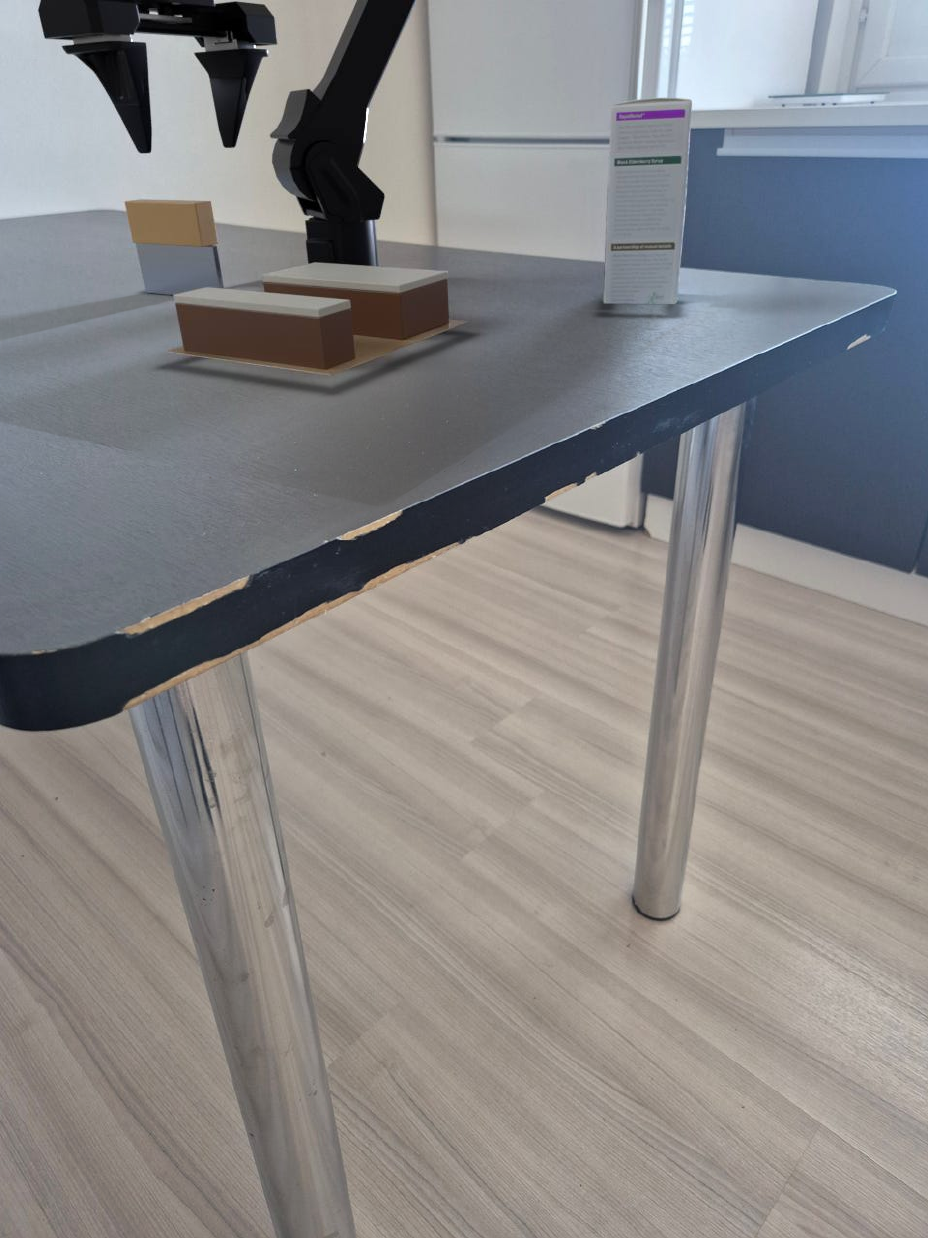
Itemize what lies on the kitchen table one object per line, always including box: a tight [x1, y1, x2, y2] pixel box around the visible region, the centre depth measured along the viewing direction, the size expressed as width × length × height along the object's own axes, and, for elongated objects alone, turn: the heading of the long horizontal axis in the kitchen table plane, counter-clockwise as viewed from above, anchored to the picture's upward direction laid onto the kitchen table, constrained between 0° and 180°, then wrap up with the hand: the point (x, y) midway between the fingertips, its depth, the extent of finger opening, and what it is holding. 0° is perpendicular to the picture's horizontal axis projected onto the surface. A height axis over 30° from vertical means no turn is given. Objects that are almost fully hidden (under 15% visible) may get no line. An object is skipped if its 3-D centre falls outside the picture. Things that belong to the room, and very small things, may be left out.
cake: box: [261, 262, 450, 340], centre depth 61 cm, size 6×12×4 cm, turn 59°
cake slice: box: [172, 287, 355, 370], centre depth 53 cm, size 3×12×4 cm, turn 59°
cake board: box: [165, 319, 469, 376], centre depth 59 cm, size 16×14×1 cm
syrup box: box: [602, 97, 693, 305], centre depth 64 cm, size 6×6×14 cm
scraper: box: [124, 198, 225, 296], centre depth 77 cm, size 10×2×8 cm, turn 59°
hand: (189, 150), depth 69 cm, fingers open, 9 cm apart
